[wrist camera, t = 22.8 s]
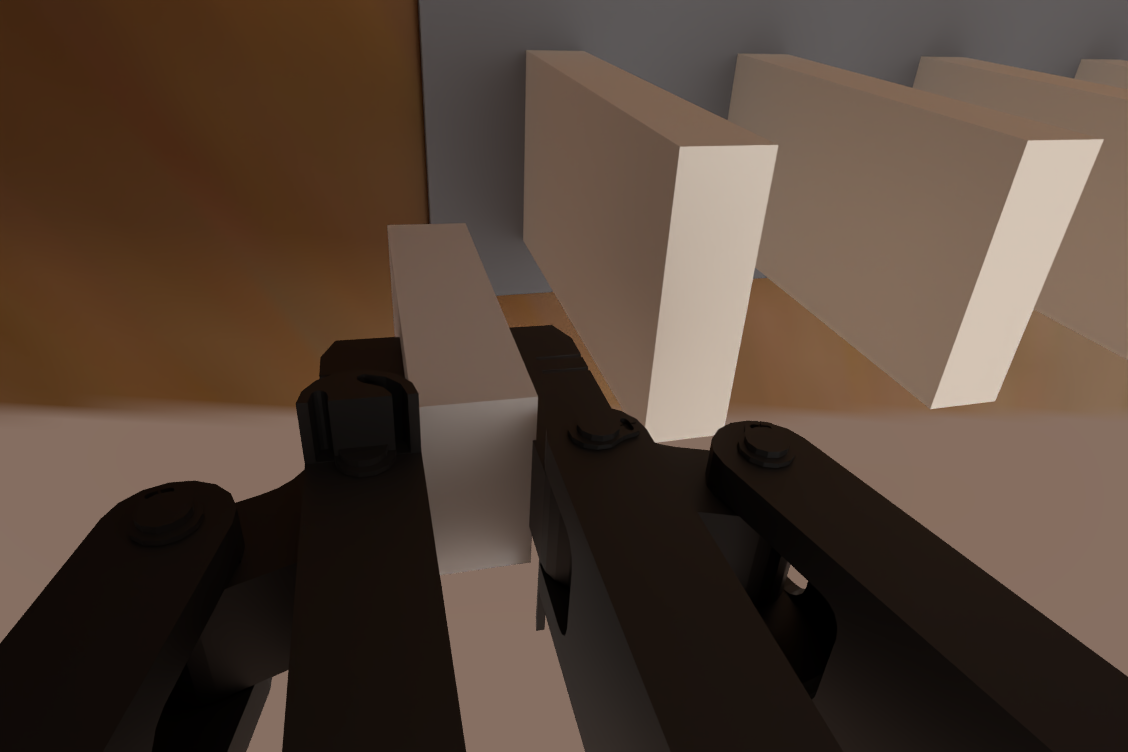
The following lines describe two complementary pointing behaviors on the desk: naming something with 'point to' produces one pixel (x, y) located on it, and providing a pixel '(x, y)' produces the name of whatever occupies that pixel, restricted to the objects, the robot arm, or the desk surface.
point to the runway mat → (689, 73)
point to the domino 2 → (909, 217)
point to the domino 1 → (644, 233)
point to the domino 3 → (1107, 203)
